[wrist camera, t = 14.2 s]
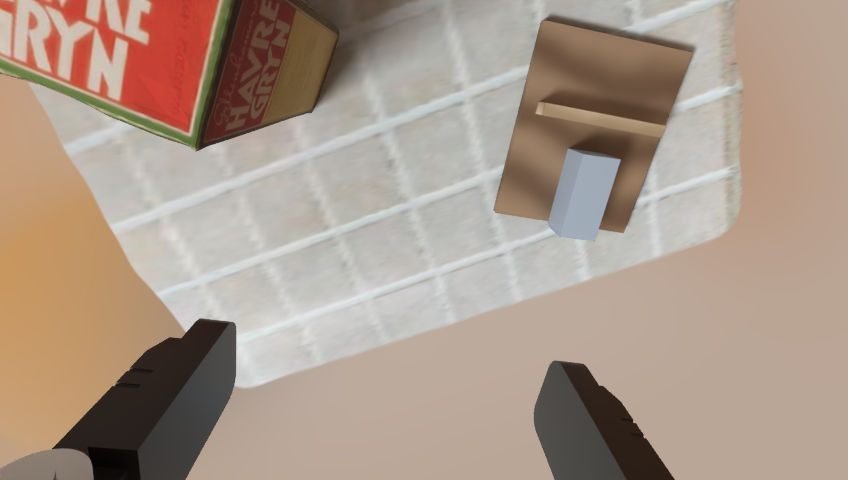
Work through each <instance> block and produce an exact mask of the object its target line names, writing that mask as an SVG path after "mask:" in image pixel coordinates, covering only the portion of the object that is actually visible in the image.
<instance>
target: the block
mask: <svg viewBox="0 0 848 480" xmlns="http://www.w3.org/2000/svg"><path fill="white" fill-rule="evenodd" d="M620 161H621V159H618V158H615V157H612V156H609V155H606V154H603V153H598V152H590V151H583V150H576V149H569V148H568V150H567V153H566V157H565V161H564V165H563V168H562V172H561V176H560V180H559V183H558V187H557V191H556V194H555V198H554V202H553V206H552V209H551V213H550V217H549V221H548V224H547V225H548V226H549V227H550V228H551V229H552V230H553V231H554V232H555V233H556V234H557V235H558V236H559V237H562V238H570V239H578V240H587V241H595V239H596V236H597V233H598V229H599V226H600V223H601V220H602V217H603V214H604V211H605V208H606V204H607V201H608V198H609V195H610V192H611V189H612V186H613V182H614V179H615V176H616V173H617V170H618V167H619V164H620Z"/></svg>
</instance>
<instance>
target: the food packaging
mask: <svg viewBox="0 0 848 480" xmlns="http://www.w3.org/2000/svg"><path fill="white" fill-rule="evenodd" d="M338 36H339V31H338V29H337V28H336V27H334V26H333V25H332V24H330V23H329V22H328V21H326V20H325V19H324V18H322V17H321V16H320V15H318V14H317V13H316V12H314V11H313V10H312V9H311V8H309V7H308V6H307V5H306V4H304V3H303V2H302V1H301V0H0V74H4V75H7V76H11V77H15V78H18V79H22V80H25V81H29V82H32V83H36V84H40V85H42V86H45V87H47V88H50V89H52V90H55V91H57V92H60V93H62V94H65V95H67V96H69V97H71V98H74V99H76V100H78V101H80V102H82V103H85V104H87V105H89V106H91V107H93V108H94V109H96V110H98V111H100V112H102V113H104V114H106V115H108V116H110V117H112V118H115V119H117V120H120V121H122V122H125V123H127V124H130V125H132V126H135V127H137V128H140V129H142V130H145V131H147V132H150V133H152V134H155V135H157V136H160V137H163V138H165V139H168V140H171V141H174V142H178V143H181V144H184V145H187V146H189V147H191V148H192V149H193V150H194V151H195V152H196V151H198V150H201V149H203V148H205V147H207V146H209V145H213V144H216V143H219V142H222V141H225V140H228V139H231V138H234V137H237V136H240V135H243V134H246V133H249V132H252V131H255V130H258V129H261V128H264V127H267V126H270V125H273V124H275V123H278V122H281V121H284V120H287V119H290V118H293V117H296V116H299V115H303V114H306V113H312V111H313V109H314V107H315V104H316V102H317V99H318V97H319V94H320V91H321V88H322V85H323V82H324V79H325V76H326V73H327V71H328V68H329V65H330V62H331V59H332V56H333V53H334V50H335V47H336V44H337V41H338Z"/></svg>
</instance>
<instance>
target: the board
mask: <svg viewBox="0 0 848 480" xmlns="http://www.w3.org/2000/svg"><path fill="white" fill-rule="evenodd" d="M691 56H692V52H688V51H683V50H679V49H674V48H669V47H665V46H660V45H656V44H651V43H647V42H642V41H638V40H633V39H628V38H624V37H619V36H615V35H610V34H606V33H601V32H597V31H592V30H587V29H583V28H578V27H574V26H569V25H565V24H560V23H556V22H551V21H546V20H544V21H542V22H541V23H540V27H539V31H538V35H537V39H536V43H535V47H534V51H533V55H532V59H531V63H530V67H529V71H528V75H527V79H526V83H525V87H524V91H523V95H522V99H521V103H520V107H519V111H518V115H517V119H516V123H515V126H514V130H513V134H512V138H511V142H510V146H509V150H508V154H507V158H506V162H505V166H504V170H503V174H502V178H501V182H500V186H499V190H498V194H497V198H496V202H495V206H494V211H495V212H496V213H500V214H506V215H513V216H519V217H525V218H532V219H538V220H544V221H549V217H550V213H551V209H552V206H553V202H554V198H555V194H556V191H557V187H558V183H559V180H560V176H561V172H562V168H563V165H564V161H565V157H566V153H567V150H568V148H569V149H576V150H583V151H590V152H598V153H603V154H606V155H609V156H612V157H615V158H618V159H621V161H620V164H619V167H618V170H617V173H616V176H615V179H614V182H613V186H612V189H611V192H610V195H609V198H608V201H607V204H606V208H605V211H604V214H603V217H602V220H601V223H600V226H599V229H601V230H607V231H614V232H620V233H624V231H625V228H626V225H627V223H628V220H629V218H630V215H631V212H632V210H633V207H634V205H635V202H636V199H637V197H638V194H639V192H640V189H641V186H642V184H643V181H644V179H645V176H646V173H647V171H648V168H649V166H650V163H651V160H652V158H653V155H654V152H655V150H656V147H657V145H658V142H659V139H660V138H662V136H663V133H664V131H665V128H666V126H665V124H666V121H667V119H668V116H669V113H670V111H671V108H672V106H673V103H674V100H675V98H676V95H677V93H678V90H679V87H680V85H681V82H682V80H683V77H684V74H685V72H686V69H687V67H688V64H689V61H690V59H691Z"/></svg>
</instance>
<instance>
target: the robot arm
mask: <svg viewBox="0 0 848 480" xmlns="http://www.w3.org/2000/svg"><path fill="white" fill-rule="evenodd" d="M235 377H236V325H235V323H234V322H227V321H218V320H210V319H199V320H197V321H196V322H195V323H194V324H193V326H192V327H191V328H190V329H189V330H188V331H187V332H186V334H185V335H184V336H183V337H182V338H181V339H180V338H171V337H170V338H168V339H166V340H164V341H163V342H161V343H159V344H157V345H156V346H154V347H152V348H150V349H149V350H147V351H146V352H145V353H144V354H143V355H142V356H141V357H140V358H139V359H138V360H137V361H136V362H135V363H134V364H133V365H132V366H131V367H130V370H129V371H127V372H126V373H125V374H124V375H123V376H122V377H121V378H120V379H119V380H118V381H117V382H116V385H115V386H112V387H111V388H110V390H108V391H107V392H106V394H105V395H104V396H103V397H102V398H101V399H100V400H99V401H98V402H97V403H96V404H95V405H94V406H93V407H92V408H91V409H90V410H89V411H88V412H87V413H86V414H85V415H84V417H82V419H80V421H79V422H78V423H77V424H76V425H75V426H74V427H73V428H72V429H71V430H70V431H69V432H68V433H67V434H66V435H65V436H64V437H63V438H62V439H61V440H60V441H59V443H57V444H56V445H55V446H54V447H53V448H52V449H51V450H46V451H41V452H37V453H34V454H31V455H28V456H25V457H23V458H20V459H18V460H16V461H14V462H12V463H10V464H8V465H6V466H4V467H3V468H1V469H0V480H185V479H186V478H187V476H188V474H189V472H190V470H191V468H192V466H193V465H194V463H195V461H196V459H197V457H198V455H199V454H200V452H201V450H202V448H203V447H204V445H205V443H206V441H207V439H208V437H209V436H210V434H211V432H212V430H213V428H214V426H215V425H216V423H217V421H218V419H219V417H220V415H221V414H222V412H223V410H224V408H225V406H226V405H227V403H228V401H229V399H230V396H231V393H232V390H233V387H234V383H235ZM534 424H535V429H536V432H537V435H538V437H539V440H540V442H541V445H542V448H543V450H544V453H545V456H546V458H547V461H548V463H549V466H550V468H551V471H552V474H553V476H554V479H555V480H675V479H674V478H673V477H672V475H671V474H670V472H669V471H668V469H667V468H666V467H665V465H664V463H663V462H662V461H661V459H660V458H659V456H658V455H657V453H656V452H655V451H654V449H653V448H652V446H651V445H650V443H649V442H648V440H647V439H645V438H644V437H643V433H642V432H641V430H640V429H639V427H638V426H637V424H636V423H633V419H632V417H631V416H630V415H629V413H628V411H627V410H626V408H625V407H624V406H623V404H622V403H621V402H620V401H619V400H618V399H617V398H616V397H615V396H613V395H612V394H611V393H610V392H609V391H608V390H607V389H606V388H605V387H603V386H599V385H598V383H597V382H596V380H595V379H594V377H593V376H592V374H591V373H590V371H589V370H588V368H587V367H586V366H585V365H584V364H580V363H572V362H563V361H553V362H552V363H551V364H550V366H549V368H548V371H547V374H546V377H545V379H544V382H543V385H542V388H541V391H540V394H539V396H538V399H537V402H536V405H535V409H534Z"/></svg>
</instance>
